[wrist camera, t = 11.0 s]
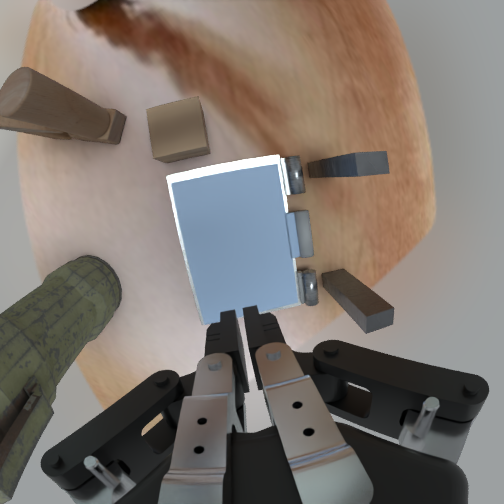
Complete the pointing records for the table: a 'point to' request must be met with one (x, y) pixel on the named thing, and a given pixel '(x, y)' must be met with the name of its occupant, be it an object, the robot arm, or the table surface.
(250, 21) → the table surface
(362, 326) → the base leaf
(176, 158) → the block
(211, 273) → the pale blue flat slab
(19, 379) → the thermos
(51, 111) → the wooden block
